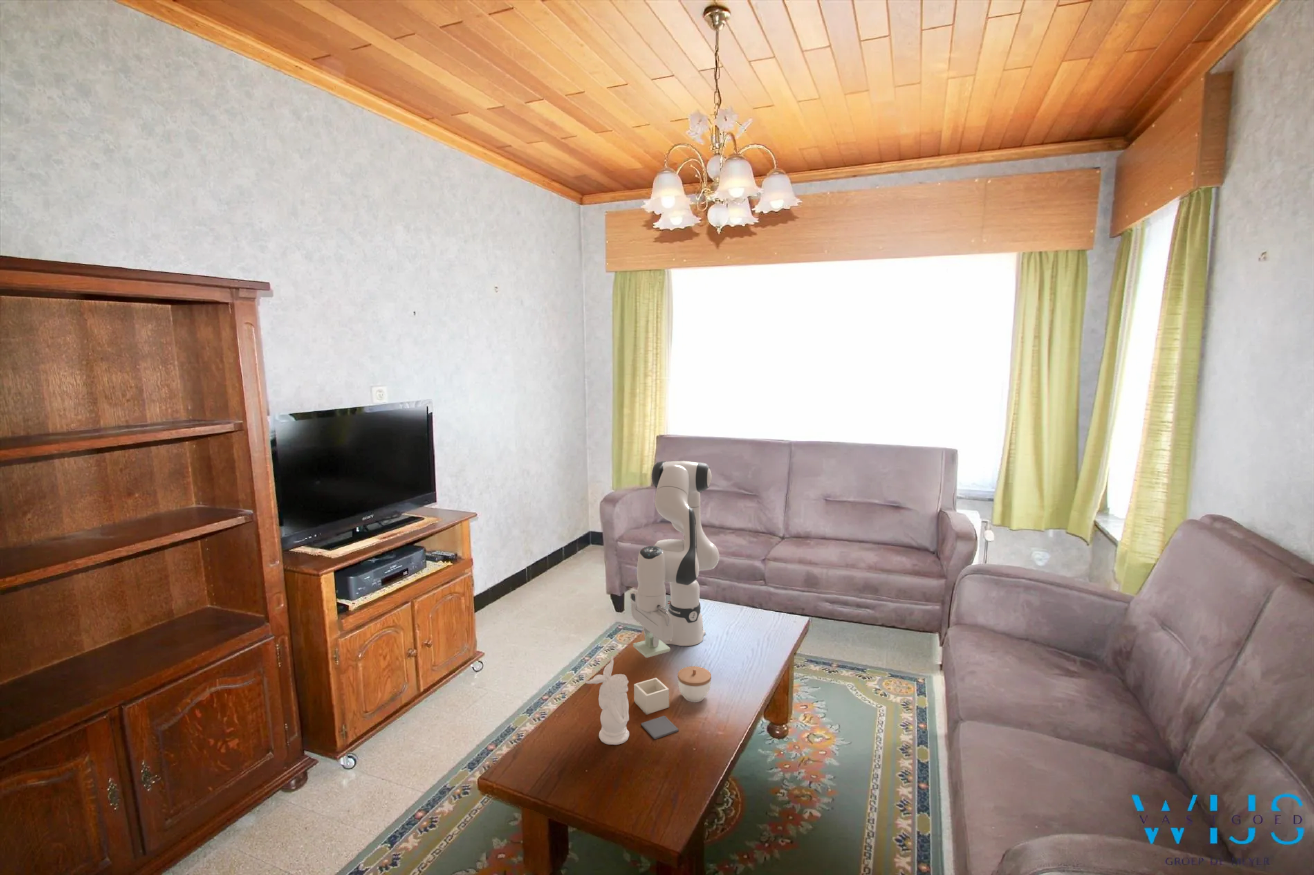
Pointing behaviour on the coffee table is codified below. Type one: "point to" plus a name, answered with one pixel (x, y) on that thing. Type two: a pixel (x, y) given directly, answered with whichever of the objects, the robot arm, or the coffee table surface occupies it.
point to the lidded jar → (694, 683)
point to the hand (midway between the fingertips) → (651, 642)
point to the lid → (650, 646)
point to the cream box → (651, 695)
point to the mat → (659, 727)
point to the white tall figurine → (613, 705)
